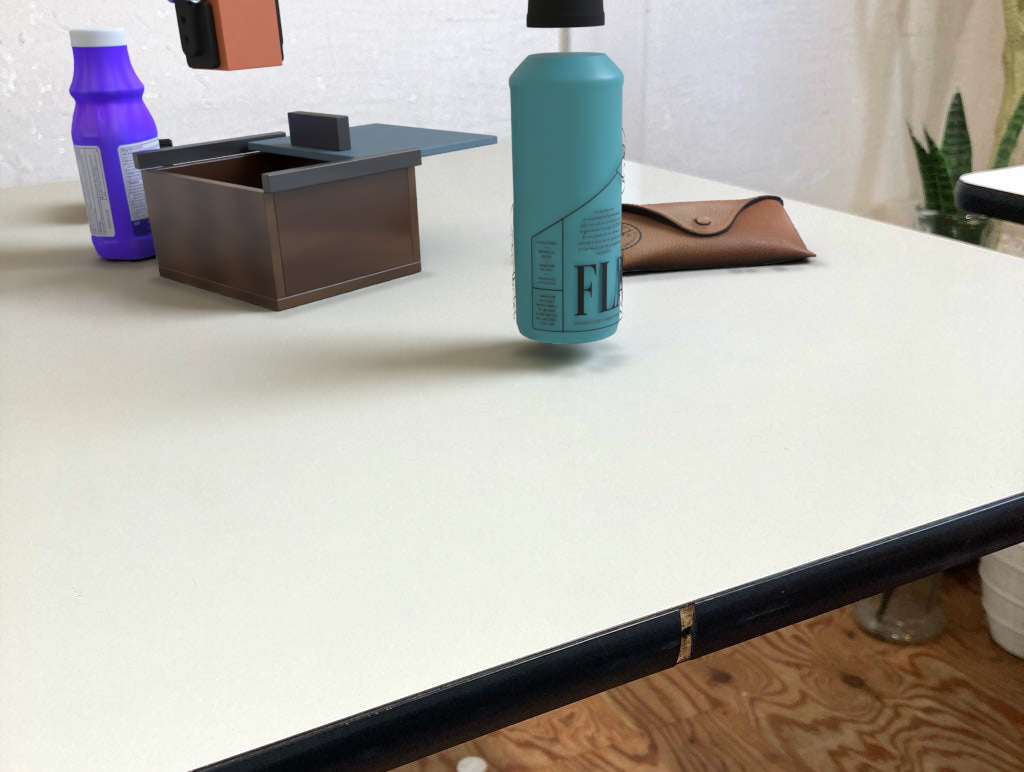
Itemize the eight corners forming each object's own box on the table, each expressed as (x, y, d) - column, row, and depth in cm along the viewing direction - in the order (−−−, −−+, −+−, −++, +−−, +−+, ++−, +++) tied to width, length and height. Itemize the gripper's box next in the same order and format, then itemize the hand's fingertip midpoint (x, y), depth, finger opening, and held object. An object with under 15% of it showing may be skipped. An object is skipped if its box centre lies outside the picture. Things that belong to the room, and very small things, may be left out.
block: (191, 69, 73) (180, -3, 71) (245, 63, 76) (236, -6, 73) (228, 71, 70) (217, -4, 68) (283, 65, 73) (274, -7, 71)
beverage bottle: (575, 378, 59) (576, -19, 50) (490, 354, 63) (476, -17, 54) (643, 348, 63) (656, -22, 54) (560, 328, 67) (558, -20, 58)
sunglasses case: (599, 273, 77) (588, 185, 77) (578, 299, 84) (568, 218, 84) (826, 256, 80) (814, 172, 80) (787, 283, 87) (777, 205, 87)
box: (153, 274, 82) (131, 152, 78) (293, 242, 91) (280, 131, 87) (285, 313, 72) (267, 175, 67) (429, 272, 80) (421, 148, 76)
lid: (248, 149, 84) (242, 110, 82) (376, 130, 92) (373, 94, 91) (368, 167, 75) (364, 123, 73) (497, 143, 83) (496, 103, 82)
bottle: (129, 243, 92) (87, 26, 84) (188, 244, 91) (152, 25, 83) (83, 263, 86) (33, 31, 78) (146, 265, 85) (102, 30, 77)
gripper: (268, -233, 72) (301, 54, 80) (30, -263, 61) (97, 73, 70) (337, -250, 67) (364, 56, 76) (93, -285, 57) (156, 77, 65)
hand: (236, 61), depth 73 cm, fingers closed on block, 4 cm apart
